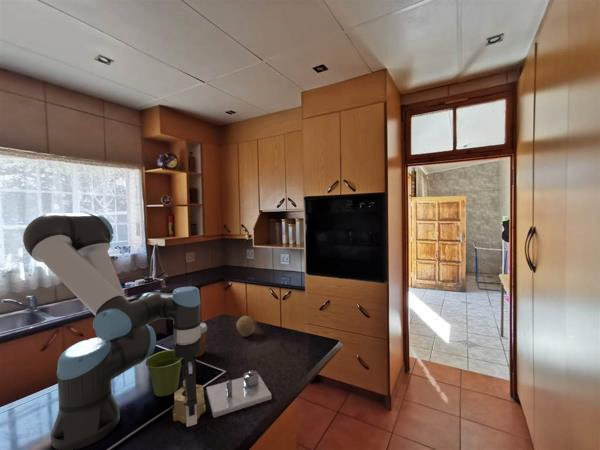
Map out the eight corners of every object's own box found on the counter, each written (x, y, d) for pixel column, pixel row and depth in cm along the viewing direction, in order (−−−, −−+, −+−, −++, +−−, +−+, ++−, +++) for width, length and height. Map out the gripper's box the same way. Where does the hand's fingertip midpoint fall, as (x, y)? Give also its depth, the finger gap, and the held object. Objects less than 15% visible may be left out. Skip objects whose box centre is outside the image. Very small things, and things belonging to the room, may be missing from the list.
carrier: (213, 417, 81) (212, 397, 81) (206, 391, 94) (206, 373, 94) (271, 399, 89) (271, 380, 89) (257, 377, 102) (257, 360, 102)
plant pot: (138, 400, 90) (137, 366, 89) (161, 379, 101) (160, 348, 101) (172, 403, 88) (171, 368, 88) (192, 381, 100) (191, 350, 99)
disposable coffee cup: (179, 357, 118) (178, 329, 117) (194, 347, 127) (194, 321, 126) (198, 360, 114) (197, 331, 114) (212, 350, 123) (211, 323, 123)
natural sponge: (236, 333, 142) (236, 313, 142) (254, 331, 144) (254, 312, 143) (236, 340, 133) (235, 319, 133) (255, 338, 135) (254, 318, 134)
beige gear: (173, 427, 78) (173, 405, 78) (172, 407, 86) (171, 388, 86) (207, 416, 82) (206, 396, 82) (203, 398, 90) (202, 380, 90)
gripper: (206, 353, 74) (208, 433, 75) (196, 324, 96) (198, 386, 96) (176, 360, 71) (178, 444, 71) (172, 328, 92) (174, 393, 93)
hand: (189, 411), depth 84 cm, fingers open, 12 cm apart
